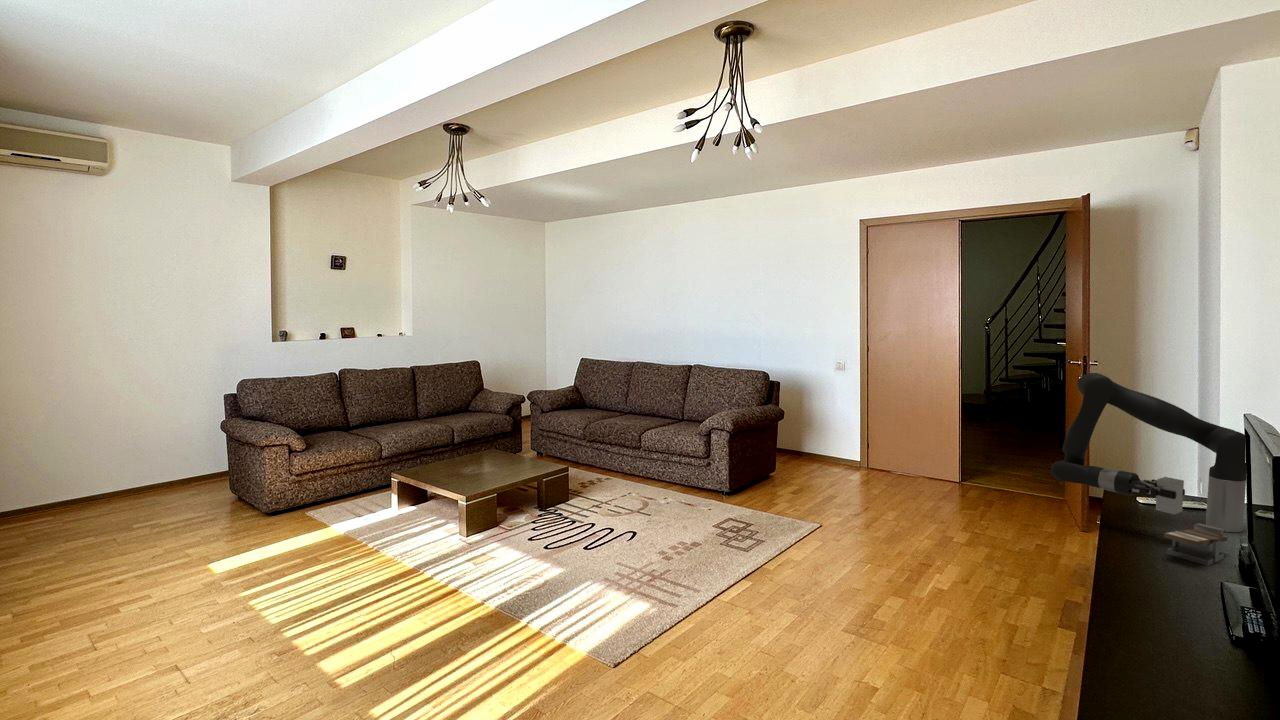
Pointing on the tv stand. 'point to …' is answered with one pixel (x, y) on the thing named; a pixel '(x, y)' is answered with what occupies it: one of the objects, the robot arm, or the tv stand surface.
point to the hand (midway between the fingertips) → (1179, 494)
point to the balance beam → (1198, 535)
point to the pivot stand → (1196, 552)
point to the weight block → (1168, 503)
